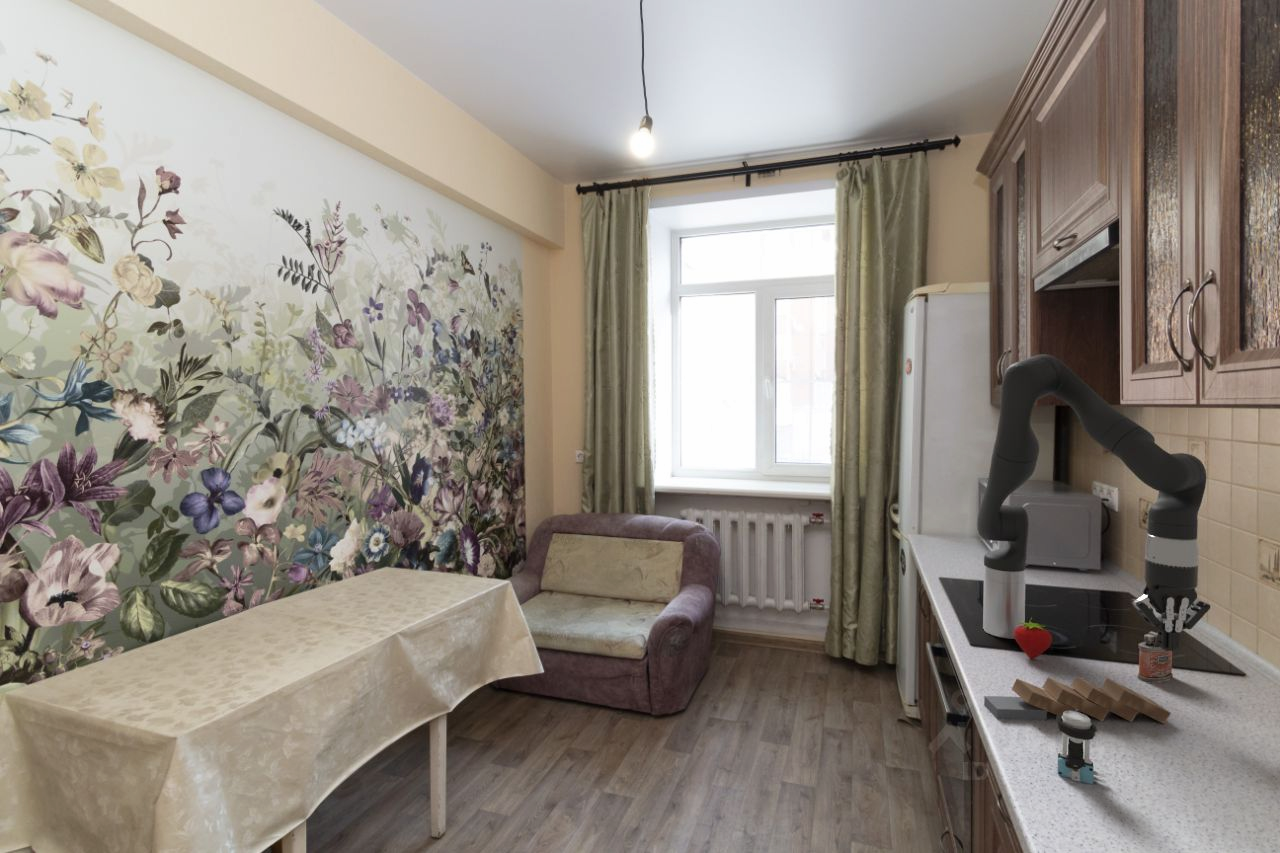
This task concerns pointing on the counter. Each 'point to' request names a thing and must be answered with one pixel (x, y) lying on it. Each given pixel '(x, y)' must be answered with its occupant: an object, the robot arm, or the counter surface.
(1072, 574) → the counter surface
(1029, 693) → the walnut tile
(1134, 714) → the walnut tile
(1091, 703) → the walnut tile
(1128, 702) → the walnut tile
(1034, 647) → the strawberry
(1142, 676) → the lighter
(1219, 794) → the counter surface
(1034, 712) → the charcoal tile
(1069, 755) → the push button
